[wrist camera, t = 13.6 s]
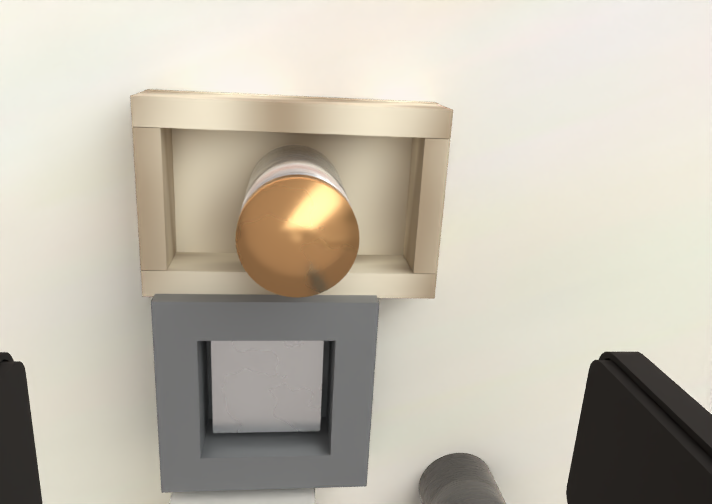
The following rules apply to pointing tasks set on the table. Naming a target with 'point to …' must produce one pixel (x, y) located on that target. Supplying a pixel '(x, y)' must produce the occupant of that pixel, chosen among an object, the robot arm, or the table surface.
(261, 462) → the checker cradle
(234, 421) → the plate
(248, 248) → the cylinder
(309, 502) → the cup
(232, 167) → the trough
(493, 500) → the black cell
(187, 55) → the table surface
